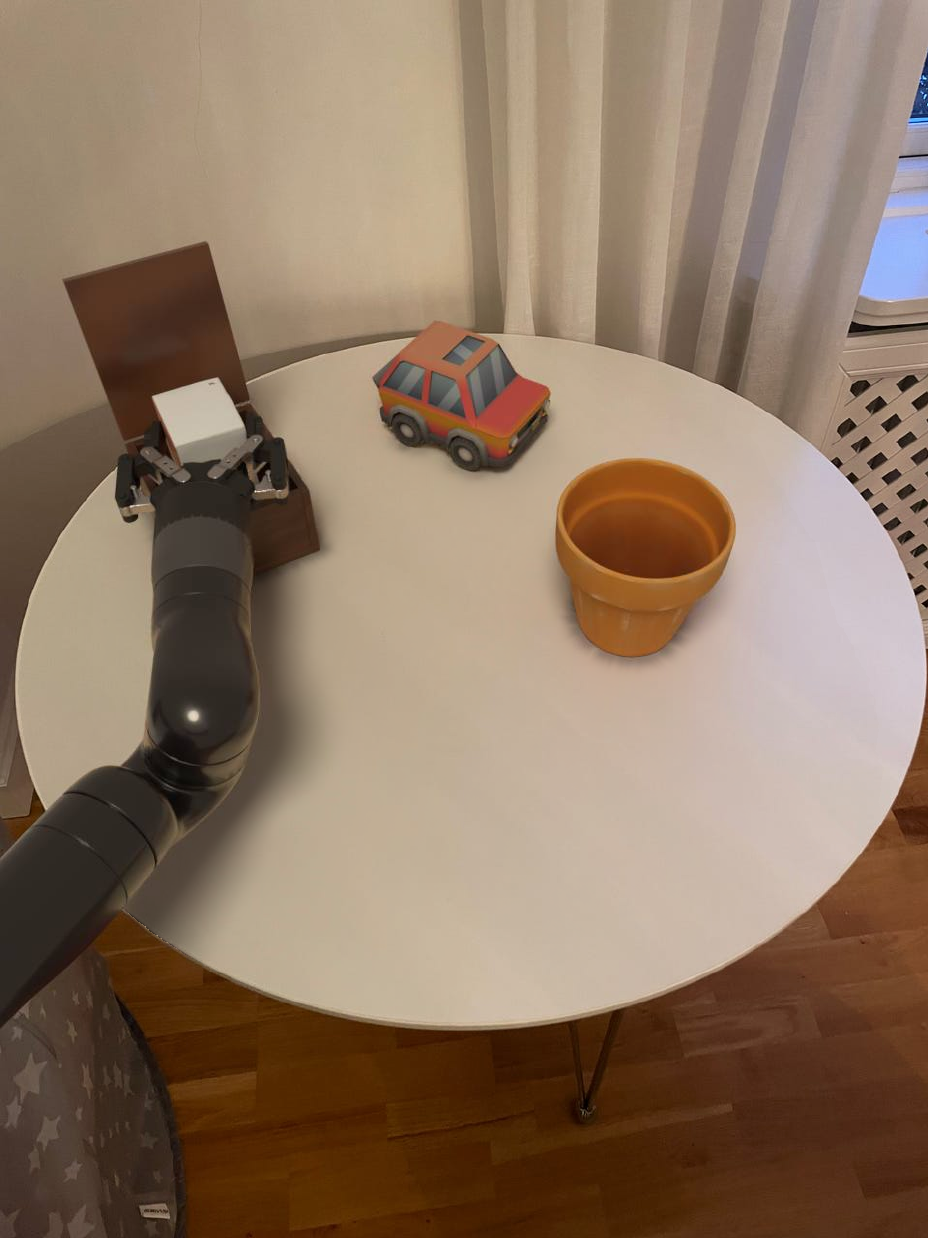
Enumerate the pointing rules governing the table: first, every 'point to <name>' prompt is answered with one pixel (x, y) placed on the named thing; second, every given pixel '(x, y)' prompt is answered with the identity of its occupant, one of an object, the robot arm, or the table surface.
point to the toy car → (461, 397)
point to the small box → (200, 422)
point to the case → (267, 514)
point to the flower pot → (640, 549)
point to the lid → (156, 331)
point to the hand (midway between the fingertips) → (205, 424)
